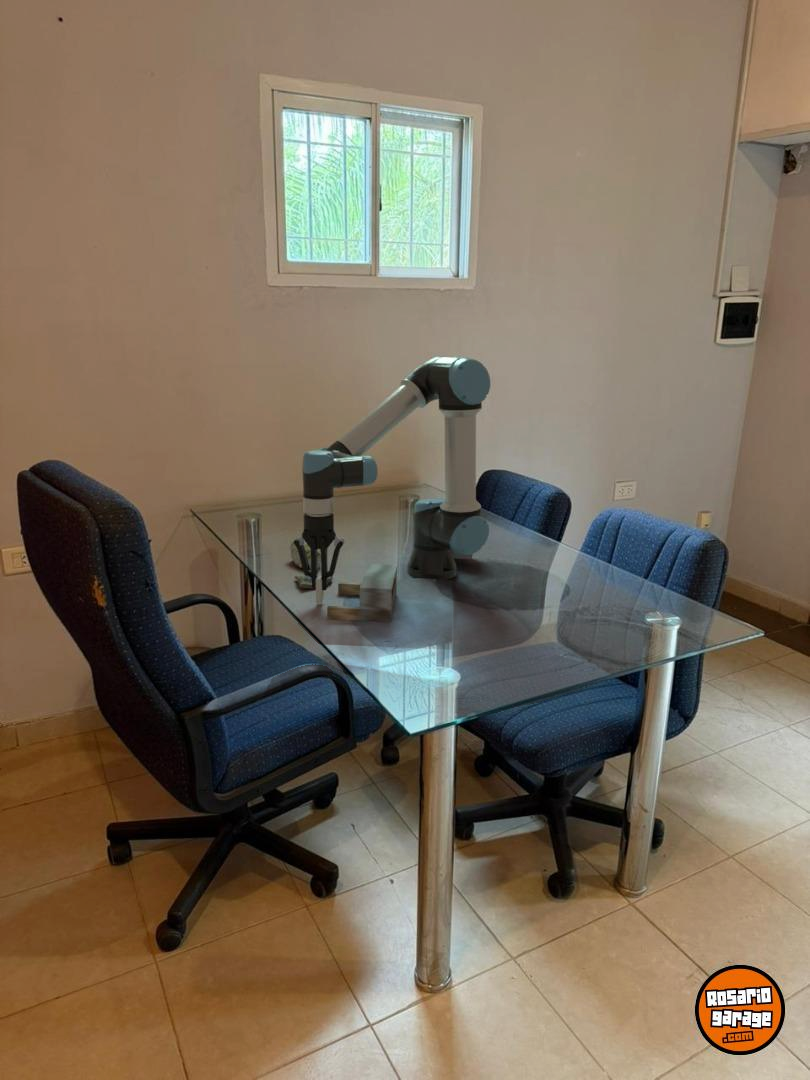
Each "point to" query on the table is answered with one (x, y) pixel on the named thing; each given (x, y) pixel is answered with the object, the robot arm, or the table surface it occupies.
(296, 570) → the table surface
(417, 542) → the robot arm
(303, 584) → the ceramic fragment
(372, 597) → the seat fixture
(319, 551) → the seashell
